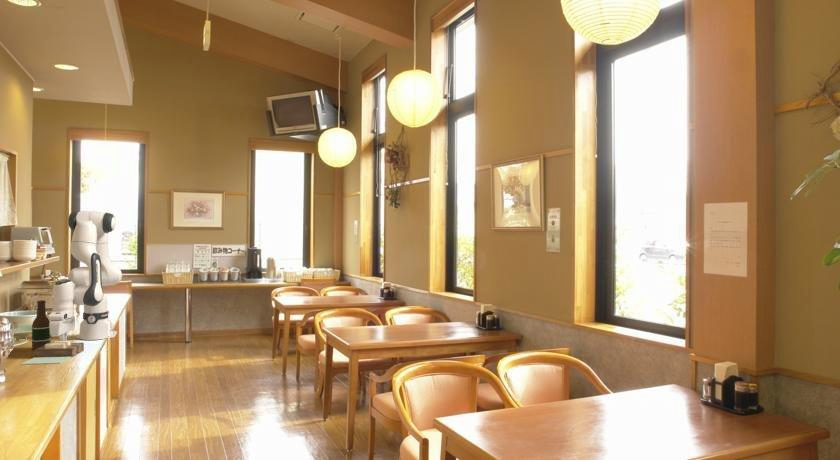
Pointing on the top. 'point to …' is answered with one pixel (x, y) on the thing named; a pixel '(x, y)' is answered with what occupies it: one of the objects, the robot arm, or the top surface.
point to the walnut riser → (60, 351)
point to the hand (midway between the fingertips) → (63, 342)
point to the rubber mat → (46, 360)
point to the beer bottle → (40, 327)
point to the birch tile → (57, 344)
